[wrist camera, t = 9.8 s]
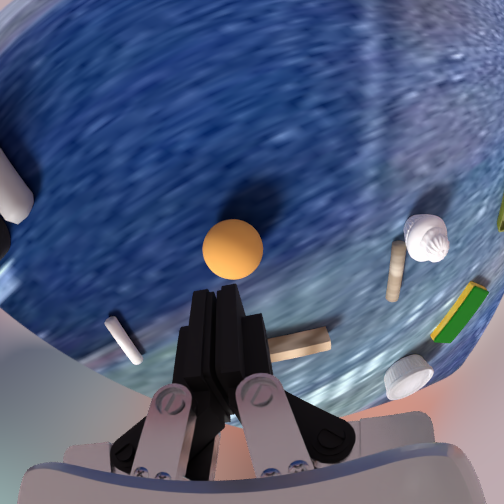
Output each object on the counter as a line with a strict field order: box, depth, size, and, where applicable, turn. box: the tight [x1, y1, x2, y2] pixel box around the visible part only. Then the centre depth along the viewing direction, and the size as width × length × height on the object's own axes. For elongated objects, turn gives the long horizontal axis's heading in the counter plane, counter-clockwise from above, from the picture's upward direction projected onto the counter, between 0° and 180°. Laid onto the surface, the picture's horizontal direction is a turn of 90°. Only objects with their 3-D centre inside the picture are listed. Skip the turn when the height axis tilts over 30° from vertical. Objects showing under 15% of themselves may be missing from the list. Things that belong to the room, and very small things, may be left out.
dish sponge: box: [431, 281, 489, 343], centre depth 42 cm, size 7×14×2 cm, turn 161°
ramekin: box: [384, 354, 434, 400], centre depth 47 cm, size 11×11×5 cm
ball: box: [203, 219, 263, 279], centre depth 28 cm, size 6×6×6 cm
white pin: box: [105, 316, 143, 365], centre depth 37 cm, size 2×2×9 cm
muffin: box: [404, 214, 449, 262], centre depth 29 cm, size 6×6×7 cm
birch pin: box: [386, 240, 407, 302], centre depth 34 cm, size 2×2×9 cm
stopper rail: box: [268, 326, 331, 363], centre depth 39 cm, size 18×2×3 cm, turn 101°
